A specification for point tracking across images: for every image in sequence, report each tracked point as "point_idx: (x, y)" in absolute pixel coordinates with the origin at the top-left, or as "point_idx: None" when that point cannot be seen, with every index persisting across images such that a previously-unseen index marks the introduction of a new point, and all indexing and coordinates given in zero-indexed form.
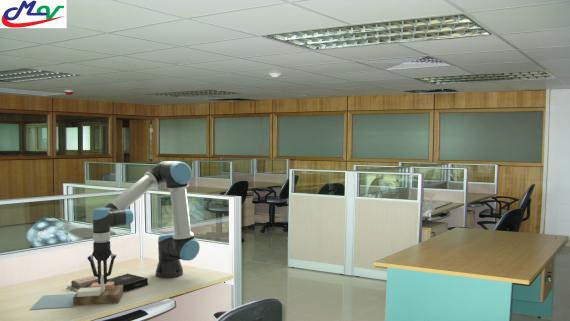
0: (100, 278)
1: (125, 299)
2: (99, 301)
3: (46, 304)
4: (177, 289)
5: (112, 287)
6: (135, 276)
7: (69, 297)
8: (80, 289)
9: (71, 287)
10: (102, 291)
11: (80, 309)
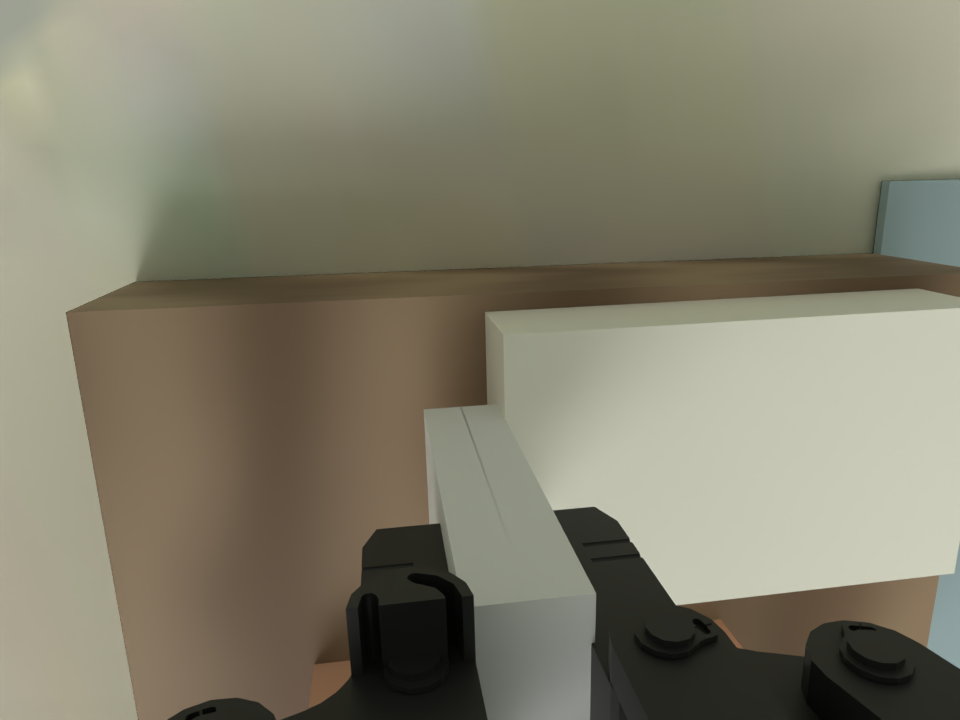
0: (585, 580)
1: (60, 462)
2: (479, 275)
3: None
4: None
5: (311, 704)
6: None
7: (955, 613)
8: (943, 489)
9: None
10: (457, 408)
11: (743, 36)
